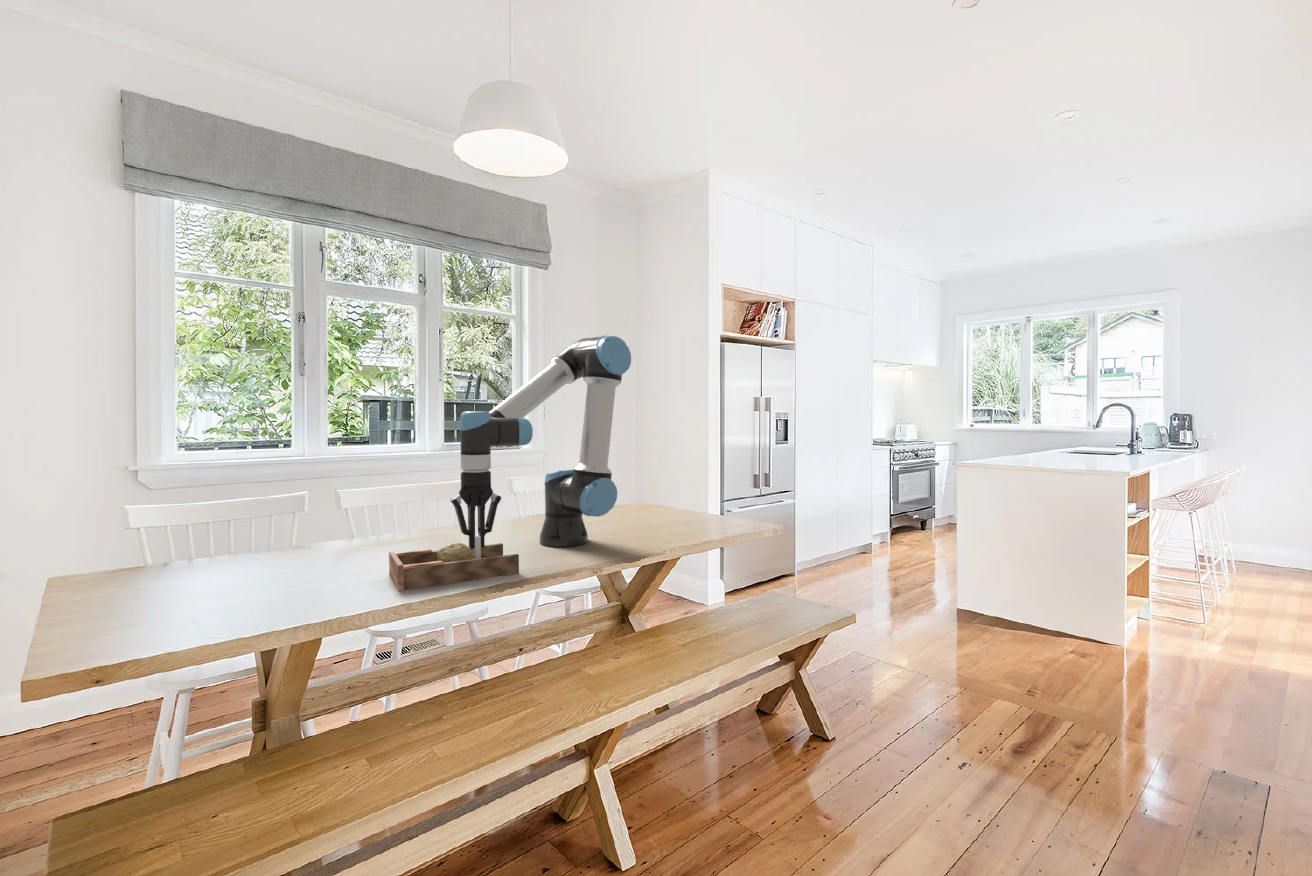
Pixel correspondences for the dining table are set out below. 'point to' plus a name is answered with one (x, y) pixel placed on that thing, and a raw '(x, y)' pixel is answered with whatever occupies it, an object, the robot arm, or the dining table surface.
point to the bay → (448, 567)
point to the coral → (455, 553)
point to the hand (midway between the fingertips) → (476, 560)
